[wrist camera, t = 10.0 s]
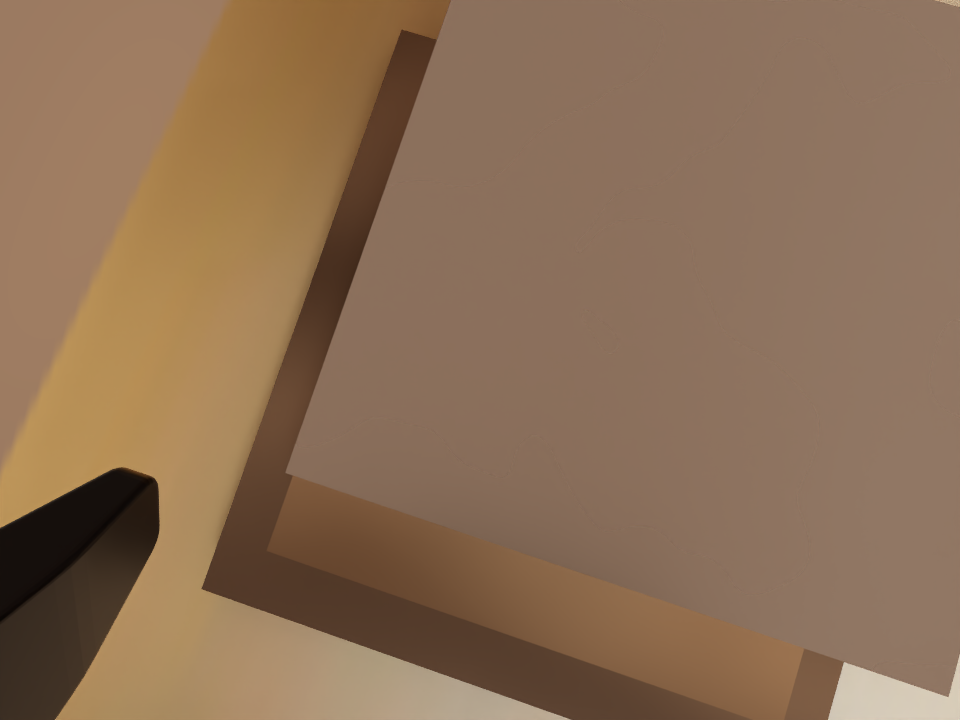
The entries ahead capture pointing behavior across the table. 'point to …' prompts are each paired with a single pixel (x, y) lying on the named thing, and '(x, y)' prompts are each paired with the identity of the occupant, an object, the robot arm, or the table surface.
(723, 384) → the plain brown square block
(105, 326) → the table surface
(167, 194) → the table surface
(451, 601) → the walnut stand
